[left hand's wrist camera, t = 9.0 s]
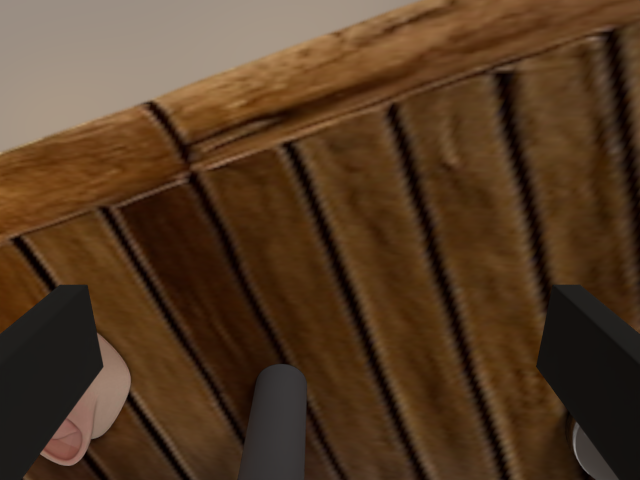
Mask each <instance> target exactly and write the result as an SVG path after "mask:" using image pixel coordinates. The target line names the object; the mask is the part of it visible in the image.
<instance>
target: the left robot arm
mask: <svg viewBox="0 0 640 480" xmlns="http://www.w3.org/2000/svg"><path fill="white" fill-rule="evenodd" d="M103 367H104V366H103V361H102V356H101V351H100V346H99V341H98V336H97V331H96V326H95V321H94V316H93V311H92V306H91V301H90V296H89V291H88V286H87V285H59V286H58V287H57V288H56V289H54V290H53V291H52V292H51V293H50V294H48V295H47V296H46V297H45V298H44V299H42V300H41V301H40V302H39V303H37V304H36V305H35V306H34V307H33V308H31V309H30V310H29V311H28V312H27V313H25V314H24V315H23V316H22V317H20V318H19V319H18V320H17V321H16V322H14V323H13V324H12V325H11V326H9V327H8V328H7V329H6V330H5V331H3V332H2V333H1V334H0V480H21V479H22V478H23V476H24V475H25V474H26V472H27V471H28V470H29V468H30V467H31V466H32V464H33V463H34V461H35V460H36V459H37V457H38V456H39V455H40V453H41V452H42V450H43V449H44V448H45V446H46V445H47V444H48V442H49V441H50V440H51V438H52V437H53V435H54V434H55V433H56V431H57V430H58V429H59V427H60V426H61V425H62V423H63V422H64V420H65V419H66V418H67V416H68V415H69V414H70V412H71V411H72V409H73V408H74V407H75V405H76V404H77V403H78V401H79V400H80V399H81V397H82V396H83V394H84V393H85V392H86V390H87V389H88V388H89V386H90V385H91V383H92V382H93V381H94V379H95V378H96V377H97V375H98V374H99V373H100V371H101V370H102V368H103ZM536 367H537V368H538V370H539V371H540V373H541V374H542V375H543V377H544V378H545V379H546V381H547V382H548V383H549V385H550V386H551V388H552V389H553V390H554V392H555V393H556V394H557V396H558V397H559V399H560V400H561V401H562V403H563V404H564V405H565V407H566V408H567V409H568V411H569V412H570V413H569V415H568V419H567V423H566V438H567V442H568V445H569V447H570V449H571V451H572V453H573V454H574V456H575V457H576V459H577V460H578V462H579V463H580V465H581V466H582V467H583V469H584V470H585V471H586V472H587V473H588V474H590V475H591V476H592V477H593V478H595V479H596V480H640V334H639V333H638V332H637V331H635V330H634V329H633V328H632V327H631V326H629V325H628V324H627V323H626V322H624V321H623V320H622V319H621V318H620V317H618V316H617V315H616V314H615V313H613V312H612V311H611V310H610V309H609V308H607V307H606V306H605V305H604V304H603V303H601V302H600V301H599V300H598V299H596V298H595V297H594V296H593V295H592V294H590V293H589V292H588V291H587V290H586V289H584V288H583V287H582V286H581V285H553V286H552V291H551V296H550V301H549V306H548V311H547V316H546V321H545V326H544V331H543V336H542V341H541V346H540V351H539V356H538V361H537V365H536Z"/></svg>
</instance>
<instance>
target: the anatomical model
mask: <svg viewBox="0 0 640 480" xmlns="http://www.w3.org/2000/svg"><path fill="white" fill-rule="evenodd" d="M97 336H98V341H99V346H100V351H101V356H102V361H103V366H104V367H103V368H102V370H101V371H100V373H99V374H98V375H97V377H96V378H95V379H94V381H93V382H92V383H91V385H90V386H89V388H88V389H87V390H86V392H85V393H84V394H83V396H82V397H81V399H80V400H79V401H78V403H77V404H76V405H75V407H74V408H73V409H72V411H71V412H70V414H69V415H68V416H67V418H66V419H65V420H64V422H63V423H62V425H61V426H60V427H59V429H58V430H57V431H56V433H55V434H54V435H53V437H52V438H51V440H50V441H49V442H48V444H47V445H46V446H45V448H44V449H43V450H42V452H41V453H40V454H41V455H42V456H44V457H45V458H47V459H49V460H51V461H53V462H55V463H57V464H60V465H65V466H70V465H73V464H75V463H77V462H78V461H79V460H80V459H81V458H82V457H83V456H84V454H85V452H86V450H87V448H88V446H89V443H90V440H91V439H94V438H97V437H100V436H101V435H103V434H104V433H105V432H106V431H107V430H108V429H109V428H110V427H111V425H112V424H113V422H114V421H115V419H116V418H117V416H118V414H119V412H120V411H121V409H122V407H123V405H124V403H125V400H126V398H127V395H128V392H129V389H130V384H131V377H130V372H129V369H128V367H127V365H126V363H125V362H124V360H123V359H122V357H121V356H120V355H119V353H118V352H117V351H116V350H115V349H114V348H113V347H112V346H111V345H110V344H109V343H108V342H107V341H106V340H105V339H104V338H103V337H102V336H101V335H100V334H98V333H97Z"/></svg>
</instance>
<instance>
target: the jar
mask: <svg viewBox="0 0 640 480" xmlns="http://www.w3.org/2000/svg"><path fill="white" fill-rule="evenodd" d="M306 398H307V382H306V379H305V377H304V375H303V374H302V372H300V371H299V370H298V369H297V368H295V367H293V366H290V365H286V364H276V365H272V366H269V367H267V368H265V369H264V370H263V371H262V372H261V373H260V374H259V376H258V378H257V381H256V386H255V391H254V396H253V402H252V407H251V412H250V417H249V423H248V428H247V433H246V438H245V444H244V449H243V454H242V459H241V464H240V470H239V475H238V480H304V463H305V431H306Z"/></svg>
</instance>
